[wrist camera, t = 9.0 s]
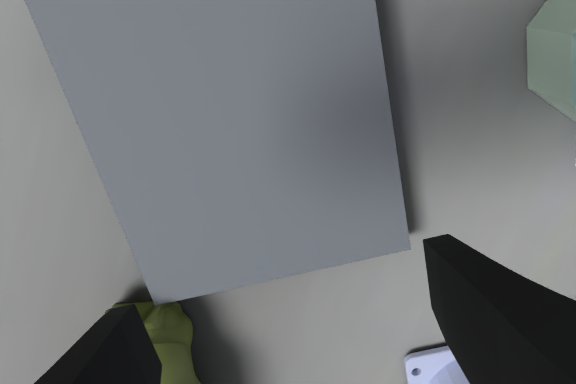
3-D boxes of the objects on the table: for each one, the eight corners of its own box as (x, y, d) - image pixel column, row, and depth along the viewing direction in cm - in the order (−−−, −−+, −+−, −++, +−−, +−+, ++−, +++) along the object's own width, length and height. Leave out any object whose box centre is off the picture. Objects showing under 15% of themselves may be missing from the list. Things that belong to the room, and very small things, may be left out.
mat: (403, 236, 22) (410, 249, 21) (160, 290, 23) (154, 305, 22) (354, -100, 17) (360, -106, 16) (32, -17, 17) (17, -17, 16)
